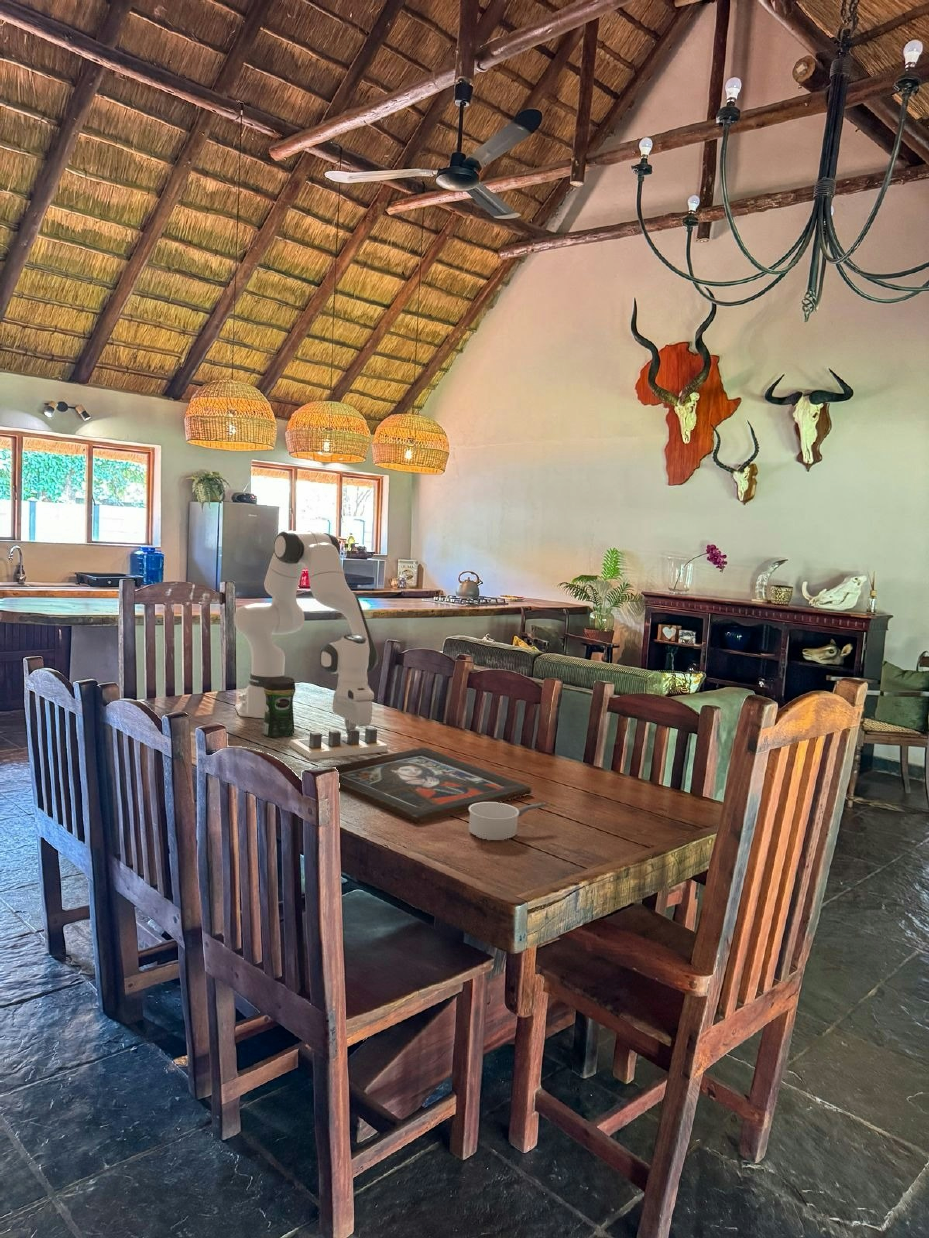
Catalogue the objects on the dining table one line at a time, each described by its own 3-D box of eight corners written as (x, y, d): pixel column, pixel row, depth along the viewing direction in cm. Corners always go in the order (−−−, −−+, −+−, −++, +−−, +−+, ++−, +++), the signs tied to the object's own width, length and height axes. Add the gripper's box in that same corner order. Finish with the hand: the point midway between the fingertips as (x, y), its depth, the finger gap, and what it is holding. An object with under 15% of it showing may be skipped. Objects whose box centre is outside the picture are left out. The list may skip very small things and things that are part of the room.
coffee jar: (289, 730, 262) (291, 674, 260) (296, 736, 255) (299, 678, 254) (259, 732, 257) (261, 675, 256) (266, 738, 251) (268, 679, 249)
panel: (290, 746, 244) (290, 739, 243) (365, 739, 257) (365, 732, 257) (309, 759, 231) (309, 751, 231) (387, 751, 245) (387, 744, 245)
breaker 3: (347, 742, 243) (347, 728, 243) (354, 741, 245) (355, 728, 244) (351, 745, 241) (352, 731, 241) (358, 744, 242) (359, 730, 242)
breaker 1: (309, 745, 237) (309, 731, 237) (317, 745, 238) (317, 731, 238) (313, 748, 235) (313, 734, 234) (321, 747, 236) (321, 733, 236)
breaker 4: (364, 740, 247) (365, 727, 247) (372, 740, 248) (372, 726, 248) (369, 743, 244) (369, 729, 244) (376, 742, 246) (377, 728, 245)
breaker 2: (328, 744, 240) (328, 730, 240) (335, 743, 242) (336, 729, 241) (332, 746, 238) (333, 732, 237) (340, 745, 239) (340, 731, 239)
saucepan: (558, 834, 184) (560, 810, 184) (484, 846, 174) (485, 821, 173) (529, 818, 194) (531, 795, 193) (457, 828, 184) (458, 805, 183)
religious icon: (419, 754, 244) (420, 744, 243) (533, 796, 212) (534, 785, 212) (306, 777, 216) (306, 766, 215) (417, 829, 184) (418, 816, 184)
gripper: (328, 683, 250) (326, 726, 252) (357, 696, 233) (354, 743, 235) (347, 682, 254) (345, 725, 255) (377, 695, 237) (374, 741, 238)
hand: (350, 734), depth 245 cm, fingers closed
